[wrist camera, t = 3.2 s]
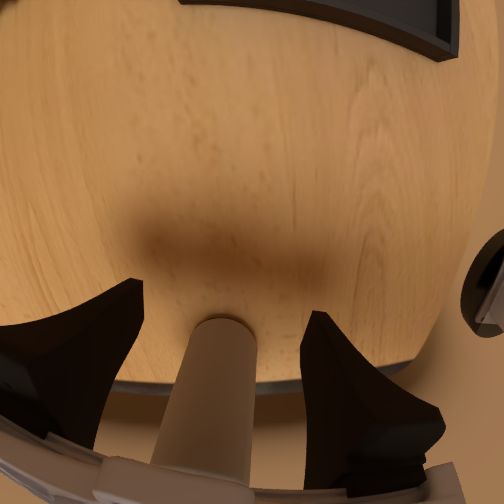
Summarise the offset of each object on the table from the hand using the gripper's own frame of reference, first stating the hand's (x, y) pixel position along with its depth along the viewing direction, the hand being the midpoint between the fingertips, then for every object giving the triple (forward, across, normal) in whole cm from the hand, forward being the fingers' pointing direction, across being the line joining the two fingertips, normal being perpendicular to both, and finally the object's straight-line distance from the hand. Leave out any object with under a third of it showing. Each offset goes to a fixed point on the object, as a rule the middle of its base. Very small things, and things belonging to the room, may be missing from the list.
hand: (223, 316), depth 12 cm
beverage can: (+6, 0, +7) cm, 9 cm away
